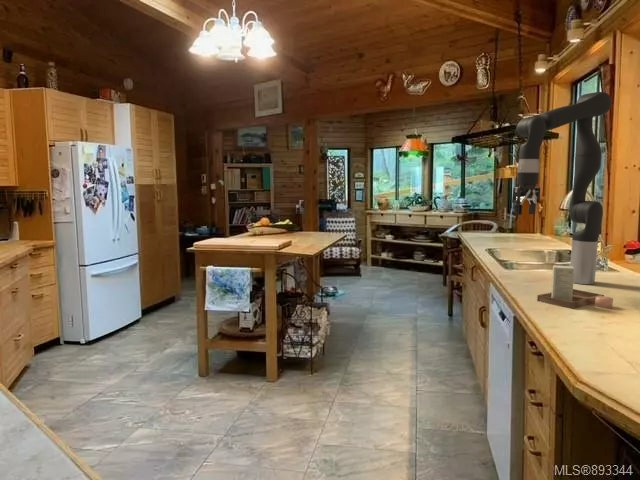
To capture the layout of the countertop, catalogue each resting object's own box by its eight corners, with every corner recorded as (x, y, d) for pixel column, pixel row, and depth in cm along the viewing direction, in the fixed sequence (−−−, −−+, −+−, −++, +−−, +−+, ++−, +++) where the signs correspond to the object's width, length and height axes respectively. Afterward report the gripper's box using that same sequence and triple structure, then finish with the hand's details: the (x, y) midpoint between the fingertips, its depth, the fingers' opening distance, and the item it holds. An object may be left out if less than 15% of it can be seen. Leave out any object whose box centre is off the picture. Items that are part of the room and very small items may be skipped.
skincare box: (570, 301, 169) (573, 266, 168) (572, 304, 165) (575, 268, 164) (550, 299, 171) (552, 264, 170) (551, 302, 167) (554, 266, 166)
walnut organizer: (569, 293, 182) (569, 288, 182) (603, 300, 172) (604, 294, 172) (537, 300, 170) (537, 295, 170) (571, 308, 161) (572, 302, 160)
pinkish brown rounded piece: (599, 304, 168) (600, 295, 167) (614, 307, 164) (615, 298, 163) (591, 306, 165) (592, 297, 165) (607, 309, 161) (608, 300, 160)
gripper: (526, 171, 180) (523, 215, 182) (548, 172, 188) (545, 214, 190) (508, 171, 186) (505, 214, 188) (530, 172, 194) (527, 213, 196)
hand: (525, 214), depth 189 cm, fingers open, 8 cm apart
